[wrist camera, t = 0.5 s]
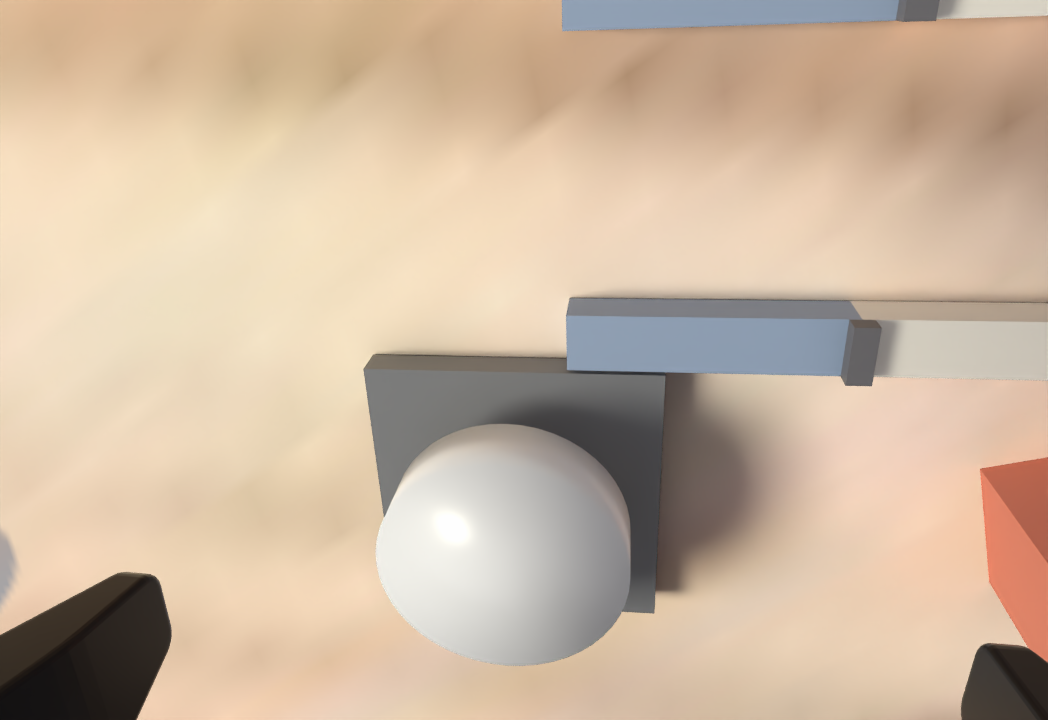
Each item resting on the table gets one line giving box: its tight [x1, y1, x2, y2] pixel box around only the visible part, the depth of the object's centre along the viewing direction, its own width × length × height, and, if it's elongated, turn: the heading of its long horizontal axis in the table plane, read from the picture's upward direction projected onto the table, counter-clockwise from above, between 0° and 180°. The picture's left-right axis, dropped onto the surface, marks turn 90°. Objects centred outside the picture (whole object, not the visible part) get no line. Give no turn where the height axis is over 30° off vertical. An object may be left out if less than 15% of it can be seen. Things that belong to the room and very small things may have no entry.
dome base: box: [364, 355, 665, 613], centre depth 23 cm, size 8×8×1 cm
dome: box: [376, 424, 630, 666], centre depth 21 cm, size 6×6×2 cm
